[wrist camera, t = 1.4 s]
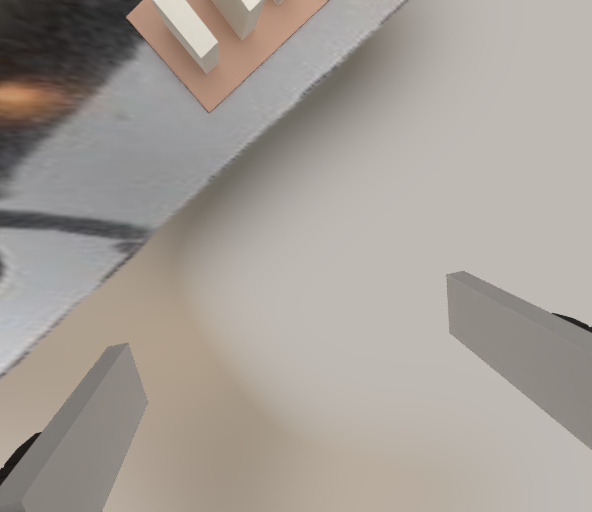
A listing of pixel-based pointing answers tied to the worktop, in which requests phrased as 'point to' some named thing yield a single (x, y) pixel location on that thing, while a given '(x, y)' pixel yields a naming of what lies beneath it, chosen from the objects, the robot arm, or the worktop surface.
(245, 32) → the domino
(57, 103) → the worktop surface
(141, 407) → the robot arm
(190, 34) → the domino
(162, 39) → the mat
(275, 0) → the domino
